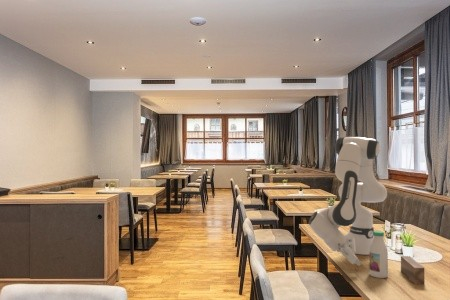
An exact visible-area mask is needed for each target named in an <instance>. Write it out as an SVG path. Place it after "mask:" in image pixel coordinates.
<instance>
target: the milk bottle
mask: <svg viewBox="0 0 450 300" xmlns="http://www.w3.org/2000/svg"><path fill="white" fill-rule="evenodd" d="M384 236H385V233H384V231H383V230H382V231H381V230H374V231H373V242H372V244H371V246H370V253H369V255H368V256H369V257H368V258H369V262H368V263H369V267H368V268H369V275H370V276H371V277H372V278H373V277H374V278H378V279H386V278H388V276H389V265H388V263H389V262H388V261H389V259H388V258H389V255H388V254H389V253H388V248H387V245H386V242H385V241H384V240H385V239H384Z"/></svg>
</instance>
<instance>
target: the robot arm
mask: <svg viewBox="0 0 450 300" xmlns="http://www.w3.org/2000/svg"><path fill="white" fill-rule="evenodd" d="M380 147H381V146H380V142H379V141H378V140H377V139H375V138H372V137H371V138H367V137H361V136H339V137H338V138H337V139H336V141H335V144H334V150H335V154H337V158H336V159H337V160H336V163H335V170H334V173H335V174H334V175H335V176H336V178H337V179H338V180H339V181H340V182H341V183H342V184H340V186H339V187H338V190H337V191H338V193H337V194H338V196H339V198H340V200H339V201H338V203H337V204H335V205H331V206H329V207H327V208H325V209H323V210H317V211H315V212H314V213H313V214H311V216H310V218H309V219H308V226H309V227H310V229H311V230H312V231H313V232H314V234H315V235H316V236H317V237H319V238H320V239H322V240H323V242H324V244H325V245H326V246H327V247H328V248H329V249H330V250H332V252H337V253H341V254H342V256H343V257H344V258H345V259H346V260H347V261H348V262H349V263H350V264H352V265H355V264H356V265H357V266H358V267H359V266H360V265H361V264H362V263H361V261H360V260H359V257H357V255H365V256H369V253H370V246H371V244H372V242H373V238H374V237H373V231H375V228H374V218H373V217H374V215H373V213H372V211H371V210H370V209H368V208H366V207H364V206H362V203H372V204H373V203H382V202H384V201H385V200H386V199H387V197H388V191H387V187H385V185H384V184H382V183H381V182H379V180H377V178H376V177H375V175H374V167H373V165H374V164H373V163H374V162H373V161H374V160H375V158H377V157H378V155H379V154H380V151H381V149H380ZM358 181H359V182H358ZM340 227H348V229H349V231H348V232H347V233H346V234H344V233H342V231H340V230H339V228H340Z"/></svg>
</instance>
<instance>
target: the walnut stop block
mask: <svg viewBox="0 0 450 300" xmlns="http://www.w3.org/2000/svg"><path fill="white" fill-rule="evenodd" d="M400 271H401V273H402V274H403V275H405V276H406V278H408V279H409V280H410V282H412V283H413V284H414V285H425V267H423V265H421V263H419V262H417V261H416V260H415V259H414V258H413V257H412V256H410V255H409V256H408V255H400Z"/></svg>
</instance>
